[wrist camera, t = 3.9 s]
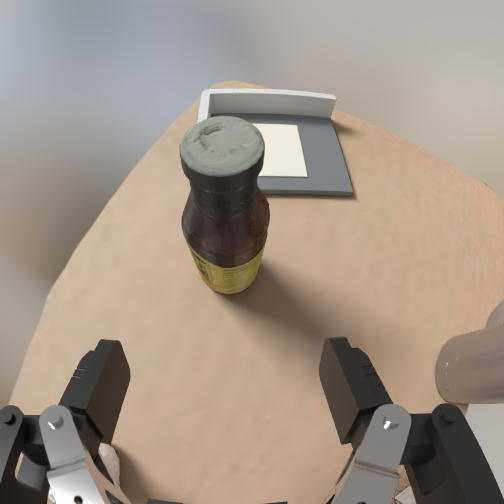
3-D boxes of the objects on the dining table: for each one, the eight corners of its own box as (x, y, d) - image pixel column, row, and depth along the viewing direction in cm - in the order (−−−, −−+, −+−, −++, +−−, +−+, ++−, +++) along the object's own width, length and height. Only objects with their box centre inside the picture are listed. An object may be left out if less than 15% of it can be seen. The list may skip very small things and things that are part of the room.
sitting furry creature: (56, 454, 20) (-5, 474, 9) (80, 411, 23) (13, 421, 12) (116, 505, 19) (71, 548, 8) (146, 464, 22) (100, 507, 11)
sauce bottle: (200, 245, 32) (164, 99, 13) (255, 242, 32) (277, 94, 14) (201, 302, 29) (145, 194, 11) (260, 299, 30) (297, 186, 11)
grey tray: (327, 117, 42) (334, 95, 37) (350, 196, 35) (363, 173, 31) (204, 114, 40) (202, 89, 36) (196, 195, 34) (191, 170, 30)
